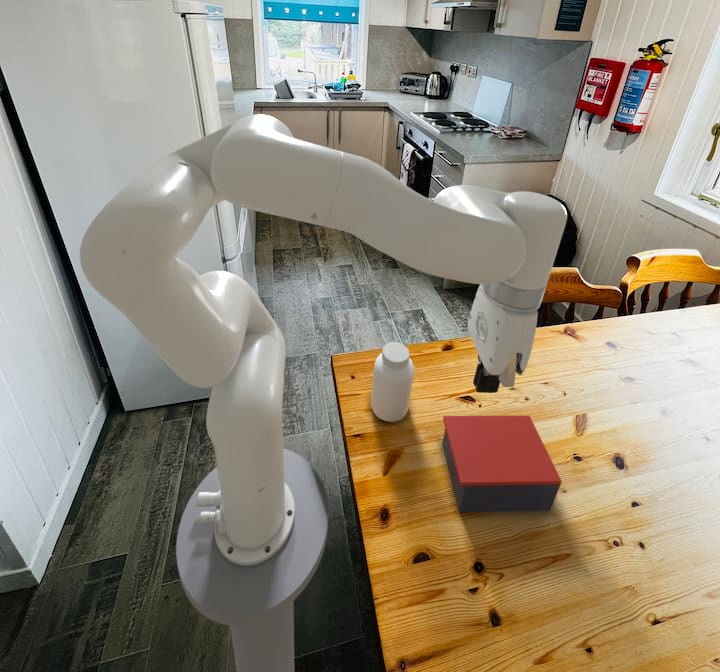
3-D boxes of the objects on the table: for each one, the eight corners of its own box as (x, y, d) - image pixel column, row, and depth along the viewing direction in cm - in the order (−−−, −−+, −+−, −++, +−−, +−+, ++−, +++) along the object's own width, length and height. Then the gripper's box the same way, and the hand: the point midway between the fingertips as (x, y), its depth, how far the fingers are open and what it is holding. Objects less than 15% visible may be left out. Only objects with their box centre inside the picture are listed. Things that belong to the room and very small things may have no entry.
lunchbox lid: (460, 486, 62) (461, 482, 62) (442, 418, 73) (443, 415, 72) (560, 484, 63) (561, 481, 63) (528, 418, 74) (529, 415, 74)
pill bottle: (381, 429, 77) (387, 372, 72) (364, 396, 84) (368, 342, 78) (415, 415, 81) (424, 360, 75) (396, 385, 87) (403, 332, 82)
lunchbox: (458, 512, 65) (465, 486, 62) (442, 443, 75) (446, 418, 73) (550, 510, 66) (560, 484, 63) (520, 443, 76) (528, 418, 74)
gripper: (467, 253, 58) (446, 349, 65) (508, 324, 44) (477, 436, 51) (516, 255, 59) (490, 350, 66) (571, 325, 45) (532, 436, 52)
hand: (484, 387), depth 58 cm, fingers closed
